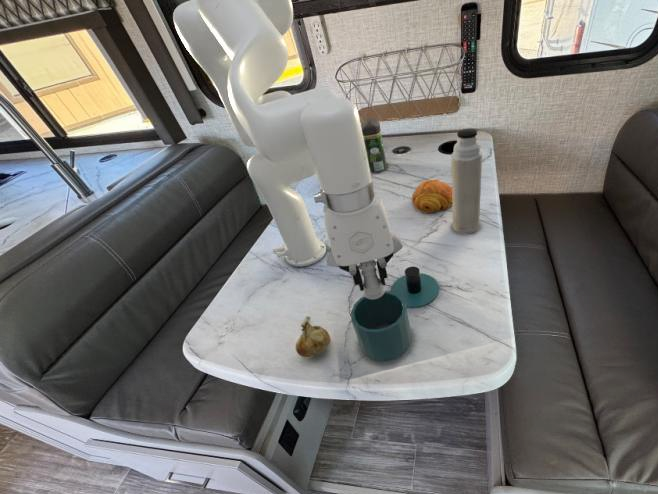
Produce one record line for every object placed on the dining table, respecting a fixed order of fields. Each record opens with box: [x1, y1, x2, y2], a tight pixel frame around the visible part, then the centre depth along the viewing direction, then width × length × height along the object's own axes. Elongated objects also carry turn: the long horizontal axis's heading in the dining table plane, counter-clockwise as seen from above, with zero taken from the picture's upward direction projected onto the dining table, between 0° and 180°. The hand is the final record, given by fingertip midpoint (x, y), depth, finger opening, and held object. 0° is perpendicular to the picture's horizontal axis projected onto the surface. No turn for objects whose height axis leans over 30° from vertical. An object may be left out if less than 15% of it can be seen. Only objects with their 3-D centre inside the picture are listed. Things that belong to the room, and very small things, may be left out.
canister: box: [350, 290, 412, 363], centre depth 72 cm, size 11×11×10 cm
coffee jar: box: [361, 118, 387, 173], centre depth 135 cm, size 10×8×19 cm
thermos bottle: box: [450, 127, 483, 234], centre depth 94 cm, size 8×8×28 cm
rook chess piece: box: [358, 259, 386, 300], centre depth 62 cm, size 4×4×8 cm
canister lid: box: [390, 266, 440, 309], centre depth 83 cm, size 12×12×7 cm
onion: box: [295, 315, 331, 358], centre depth 74 cm, size 8×8×8 cm
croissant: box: [411, 179, 453, 214], centre depth 114 cm, size 14×16×8 cm
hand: (371, 282), depth 63 cm, fingers closed on rook chess piece, 3 cm apart
